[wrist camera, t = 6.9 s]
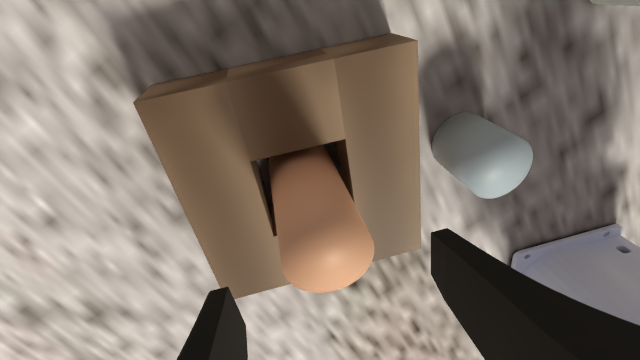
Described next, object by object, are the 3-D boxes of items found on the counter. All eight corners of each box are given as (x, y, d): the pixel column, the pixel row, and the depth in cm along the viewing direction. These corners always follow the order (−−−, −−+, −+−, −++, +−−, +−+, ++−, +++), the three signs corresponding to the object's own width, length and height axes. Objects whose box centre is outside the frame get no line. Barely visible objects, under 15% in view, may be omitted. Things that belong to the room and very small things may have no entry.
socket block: (391, 33, 17) (417, 40, 14) (401, 219, 23) (421, 248, 20) (151, 85, 16) (133, 102, 13) (229, 265, 22) (226, 301, 19)
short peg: (488, 106, 20) (538, 129, 16) (483, 158, 22) (527, 189, 18) (431, 119, 20) (470, 145, 16) (431, 171, 21) (466, 205, 18)
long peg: (323, 128, 19) (368, 207, 12) (334, 182, 20) (379, 277, 14) (260, 145, 18) (269, 235, 12) (277, 198, 20) (293, 302, 13)
